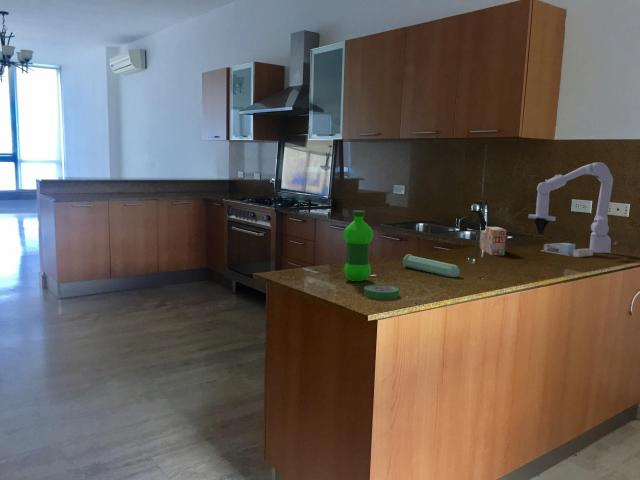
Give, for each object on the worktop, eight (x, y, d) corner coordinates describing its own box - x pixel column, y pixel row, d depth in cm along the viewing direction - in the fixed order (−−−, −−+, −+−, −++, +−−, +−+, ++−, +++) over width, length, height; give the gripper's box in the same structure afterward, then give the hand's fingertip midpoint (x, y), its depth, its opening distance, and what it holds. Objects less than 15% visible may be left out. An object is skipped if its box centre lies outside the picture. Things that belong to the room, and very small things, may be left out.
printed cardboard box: (479, 248, 279) (480, 224, 277) (491, 248, 279) (492, 224, 277) (491, 255, 258) (493, 229, 256) (504, 255, 258) (506, 229, 256)
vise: (556, 251, 273) (557, 243, 272) (593, 257, 255) (594, 249, 255) (540, 252, 267) (540, 244, 266) (576, 259, 250) (577, 250, 249)
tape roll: (400, 293, 180) (400, 285, 179) (396, 301, 169) (396, 293, 169) (366, 291, 183) (367, 283, 182) (360, 298, 172) (361, 290, 172)
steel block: (565, 252, 264) (566, 242, 264) (574, 253, 260) (575, 244, 259) (558, 252, 262) (559, 243, 261) (567, 254, 258) (568, 244, 257)
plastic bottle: (363, 284, 190) (365, 212, 187) (337, 281, 196) (338, 211, 192) (376, 279, 199) (378, 210, 195) (350, 276, 204) (352, 209, 201)
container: (460, 261, 205) (411, 251, 225) (450, 269, 202) (401, 258, 222) (463, 275, 208) (414, 263, 227) (453, 282, 205) (404, 270, 224)
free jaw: (555, 248, 272) (555, 242, 272) (560, 249, 269) (561, 243, 269) (541, 250, 267) (542, 243, 267) (547, 251, 265) (547, 244, 264)
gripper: (525, 205, 276) (523, 232, 278) (549, 208, 263) (547, 236, 265) (534, 205, 279) (532, 231, 281) (559, 207, 267) (557, 235, 269)
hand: (540, 233), depth 273 cm, fingers closed
